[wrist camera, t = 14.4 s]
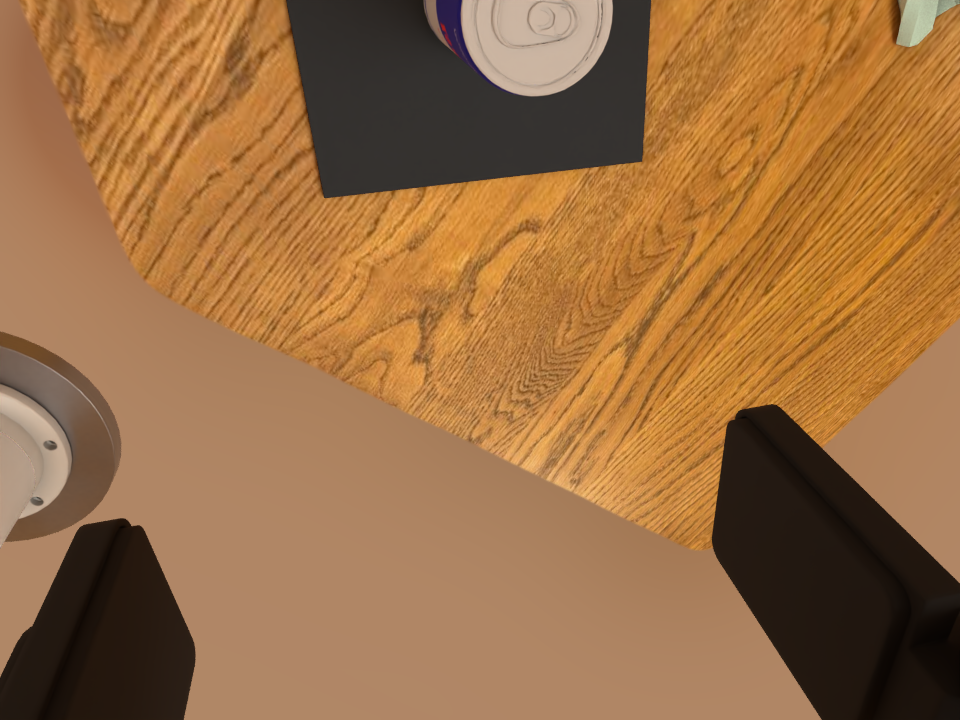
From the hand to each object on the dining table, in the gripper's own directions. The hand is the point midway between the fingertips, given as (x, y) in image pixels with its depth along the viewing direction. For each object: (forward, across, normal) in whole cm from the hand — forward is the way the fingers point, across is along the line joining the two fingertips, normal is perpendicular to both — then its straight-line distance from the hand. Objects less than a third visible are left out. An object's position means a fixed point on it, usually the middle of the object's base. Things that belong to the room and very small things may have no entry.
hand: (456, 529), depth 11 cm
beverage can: (+33, -7, -6) cm, 34 cm away
